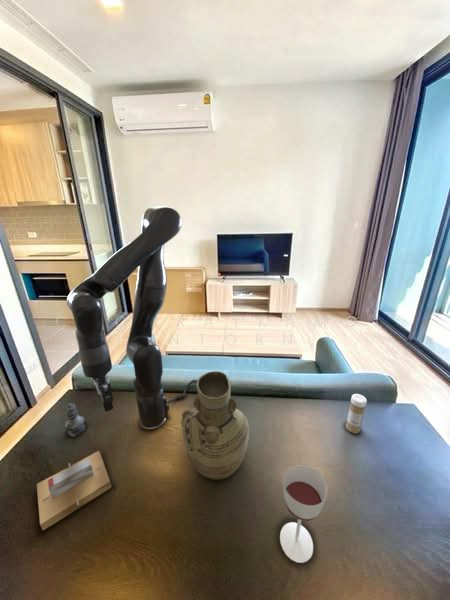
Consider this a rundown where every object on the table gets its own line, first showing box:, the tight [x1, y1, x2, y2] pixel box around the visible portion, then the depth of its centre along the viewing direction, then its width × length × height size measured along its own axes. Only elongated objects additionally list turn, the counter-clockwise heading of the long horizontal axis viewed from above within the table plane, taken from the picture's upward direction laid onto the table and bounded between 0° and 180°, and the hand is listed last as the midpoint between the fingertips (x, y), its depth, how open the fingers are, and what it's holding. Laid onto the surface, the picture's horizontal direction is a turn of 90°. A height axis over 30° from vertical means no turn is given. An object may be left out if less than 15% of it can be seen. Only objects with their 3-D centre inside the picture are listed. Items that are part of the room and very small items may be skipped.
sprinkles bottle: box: [345, 393, 368, 434], centre depth 85 cm, size 5×5×13 cm
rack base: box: [36, 450, 112, 531], centre depth 69 cm, size 16×14×3 cm
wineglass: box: [279, 464, 328, 564], centre depth 55 cm, size 8×9×20 cm
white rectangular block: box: [48, 458, 94, 499], centre depth 68 cm, size 10×2×4 cm, turn 129°
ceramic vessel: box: [181, 370, 250, 481], centre depth 73 cm, size 19×21×30 cm
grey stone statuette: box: [64, 402, 86, 437], centre depth 86 cm, size 6×6×12 cm
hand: (105, 401), depth 77 cm, fingers open, 8 cm apart
